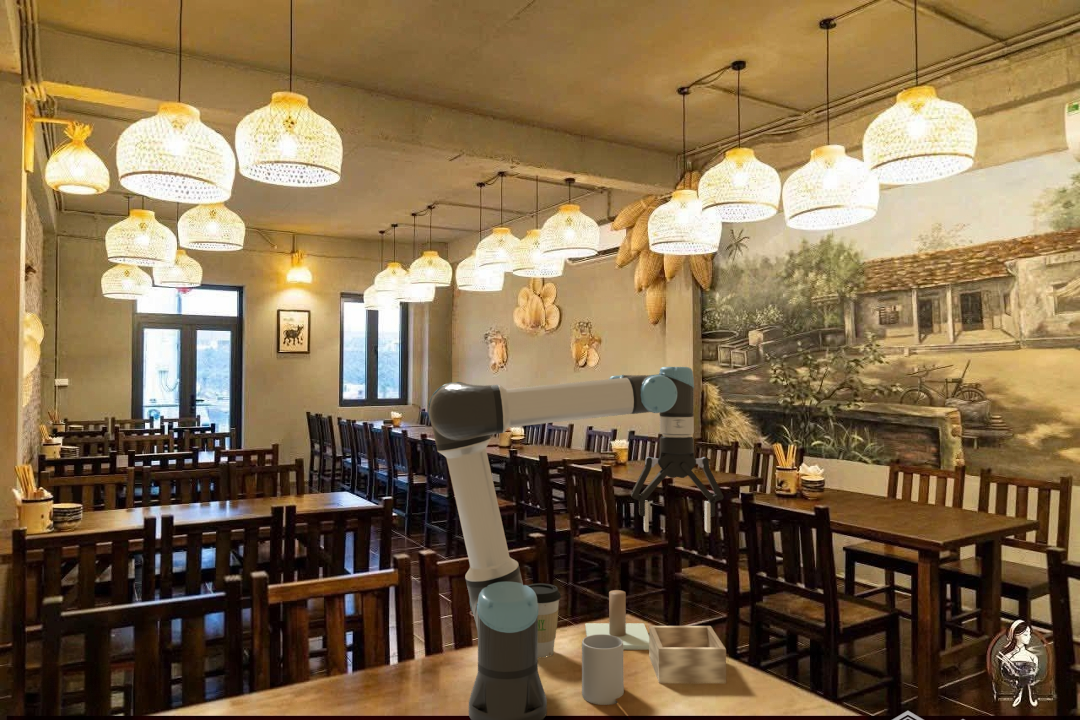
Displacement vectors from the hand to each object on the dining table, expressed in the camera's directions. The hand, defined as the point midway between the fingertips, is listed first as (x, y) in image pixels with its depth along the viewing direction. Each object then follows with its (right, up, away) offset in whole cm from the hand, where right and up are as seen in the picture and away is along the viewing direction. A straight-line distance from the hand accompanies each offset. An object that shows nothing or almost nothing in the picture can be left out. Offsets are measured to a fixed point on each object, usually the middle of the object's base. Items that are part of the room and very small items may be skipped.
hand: (676, 531), depth 159 cm
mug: (-18, -31, -12) cm, 37 cm away
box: (+1, -30, -3) cm, 31 cm away
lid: (-11, -31, +16) cm, 37 cm away
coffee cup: (-30, -31, +9) cm, 44 cm away
